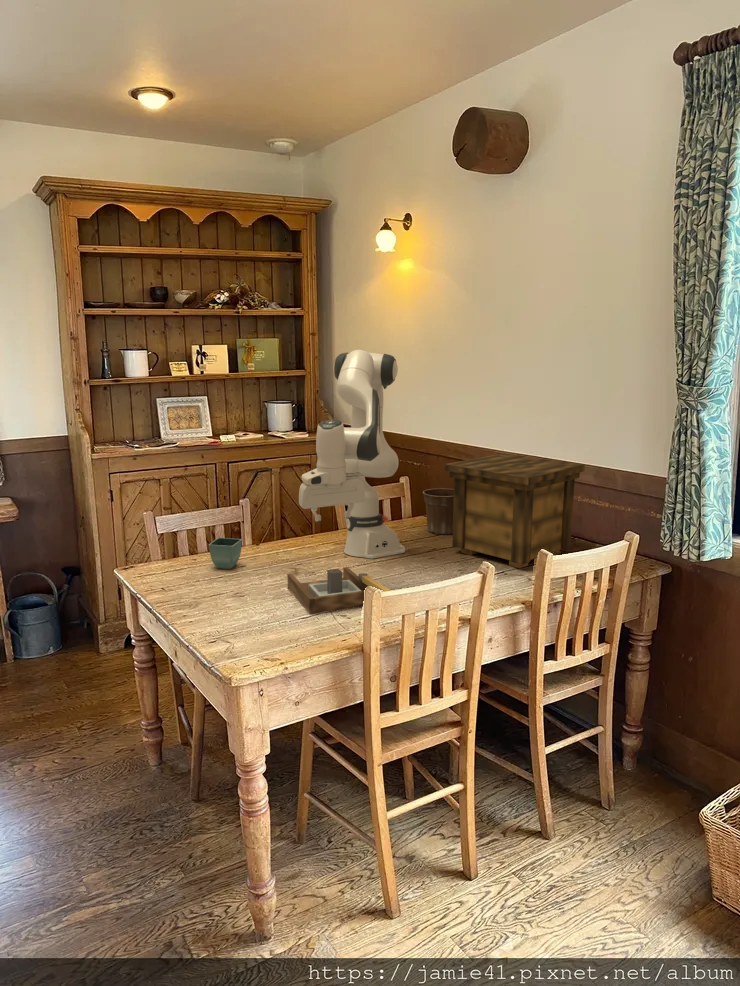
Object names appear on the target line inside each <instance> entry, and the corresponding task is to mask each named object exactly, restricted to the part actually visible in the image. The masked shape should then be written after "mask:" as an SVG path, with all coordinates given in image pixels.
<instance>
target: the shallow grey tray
mask: <svg viewBox="0 0 740 986" xmlns="http://www.w3.org/2000/svg"><path fill="white" fill-rule="evenodd" d="M326 571H327V573H326V574H327V575H326V576H327V577H326V580H327V582H325V583H317V584H309V593H310V594H311V595H312V596H313V597H319V596H327V595H334V594H342V593H350V592H358V591H361V590H360V589H359V588H358V587H357V586H356V585H355V584H354V583H352V582H351V581H350V580H342V578H343V571H341V569H339V568H332V569H327V570H326Z"/></svg>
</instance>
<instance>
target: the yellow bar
mask: <svg viewBox="0 0 740 986" xmlns="http://www.w3.org/2000/svg"><path fill="white" fill-rule="evenodd" d="M357 576H358V581H360V582H363V583H364V584H366V585H367V586H372V587H375V588H377V589H380V590H383V591H392V590H391V589H390V588H388V587H386V586H385V585H383V584H382V583H380V582H379V581H377V580H375V579H374V578H372V577H370V576H369V574H368V573H366V572H365V573H363V572H362V573H358V575H357Z"/></svg>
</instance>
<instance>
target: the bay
mask: <svg viewBox="0 0 740 986" xmlns="http://www.w3.org/2000/svg"><path fill="white" fill-rule="evenodd" d="M342 570H343V571H342V580H350V581H351V582H352V583H354V584H355V585H356V586H357V587H358V588H359V589H360V590H361V591H358V592H350V593H342V594H334V595H327V596H319V597H313V596H312V595H311V594H310V593H309V584H317V583H325V582H327V579H324V580H315V581H306V582H300V580H299V579H297V577H296V576H295V575H294V574H293V573H287V588H288V590H289V591H290V593H292V595H293V596H294V597H295V598H296V600H297V601H298V602H299V603H300V604H301V606H302V607H303V608H304V609H305V611H307V613H308V614H309V615H312V614H314V615H315V614H322V613H327V612H336V611H342V610H350V609H357V608H364V607H363V601H364V590H365V588H366V587H367V585H366V584H364V583H363V582H360V581H358V575H357V574H356V573H355V572H354V571H353V570H352V569H351V568H350V567H348V566H346V567H345V566H344V567H343V568H342Z"/></svg>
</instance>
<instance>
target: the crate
mask: <svg viewBox="0 0 740 986" xmlns="http://www.w3.org/2000/svg"><path fill="white" fill-rule="evenodd" d="M585 468H586V464H582V463H574V462H568V461H561V460H554V459H545V458H540V457H533V456H526V455H519V454H512V453H505V452H504V453H499V454H493V455H488V456H481V457H477V458H472V459H471V458H470V459H466V460H461V461H455V462H451V463H450V462H449V463H445V467H444V471H446V472H449V478H453V489H454V505H453V534H452V547H454V548H457V549H460V550H461V551H460V552H461V553H462V554H465V555H470V556H473V555H476V554H479V553H481V554H484V555H489V556H492V557H496V558H501V559H504V560H507V561H508V566H511V567H513V568H518V569H522V568H524V567H528V566H529V563H531V561H532V560H534V559H538V557H537V555H538V552H539V551H540V550H541V549H545V550H547V551H549V552H551V553H553V552H554V553H553V554H554V555H555V556H557V555H560V554H561V553H562V550H567V549H569V548H571V545H572V533H573V532H572V531H573V530H572V529H573V528H572V527H573V512H574V498H575V482H576V481H575V480H576V479H579V478H580V477H581V475H580V474H581V473H583V472H585V470H586V469H585ZM560 550H561V551H560ZM557 551H558V552H557Z"/></svg>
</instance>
